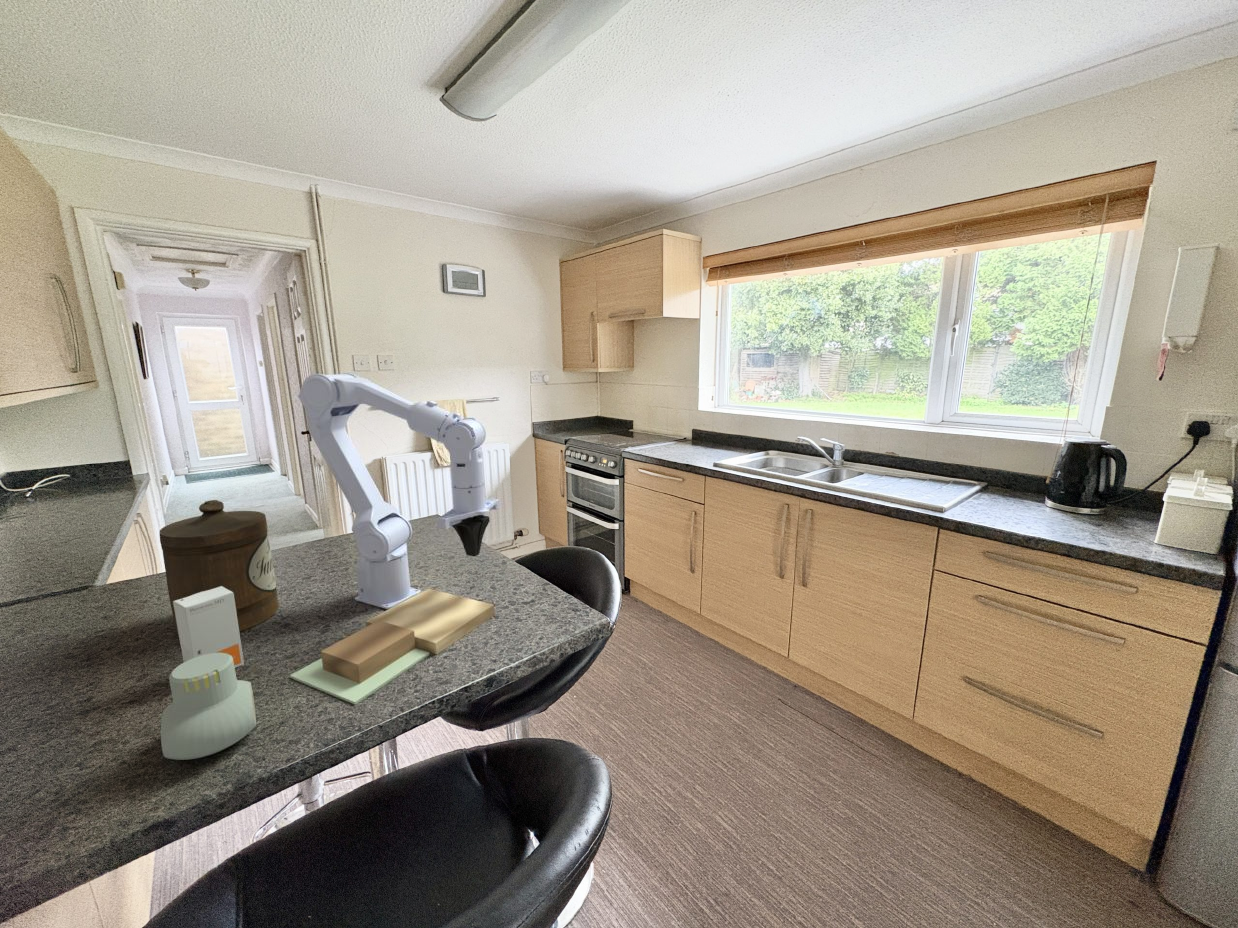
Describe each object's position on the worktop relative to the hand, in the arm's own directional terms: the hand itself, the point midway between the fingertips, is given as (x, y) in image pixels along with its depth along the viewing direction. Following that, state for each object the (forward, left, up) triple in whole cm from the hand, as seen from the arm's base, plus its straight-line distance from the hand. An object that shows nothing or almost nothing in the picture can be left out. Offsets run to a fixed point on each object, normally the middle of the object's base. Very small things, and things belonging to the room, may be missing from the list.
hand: (472, 554), depth 95 cm
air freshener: (-4, -42, -10) cm, 43 cm away
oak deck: (-1, -10, -9) cm, 14 cm away
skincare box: (-20, -34, -10) cm, 41 cm away
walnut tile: (-1, -22, -9) cm, 24 cm away
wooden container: (-36, -24, -10) cm, 44 cm away
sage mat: (-1, -24, -9) cm, 26 cm away
